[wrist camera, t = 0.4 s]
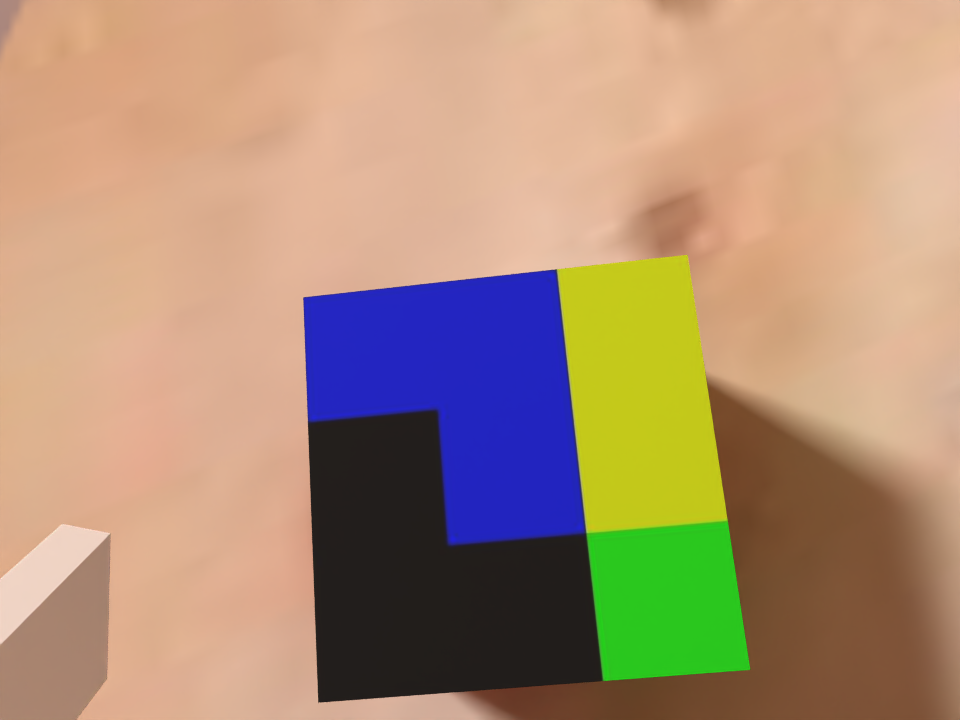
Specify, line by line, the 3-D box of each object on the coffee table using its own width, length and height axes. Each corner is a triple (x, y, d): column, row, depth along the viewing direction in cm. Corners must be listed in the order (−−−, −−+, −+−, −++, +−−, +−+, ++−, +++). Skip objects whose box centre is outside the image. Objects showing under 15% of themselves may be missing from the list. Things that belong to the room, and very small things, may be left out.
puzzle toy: (381, 375, 31) (303, 297, 22) (646, 347, 31) (687, 255, 21) (398, 651, 29) (318, 702, 19) (684, 628, 28) (750, 669, 19)
